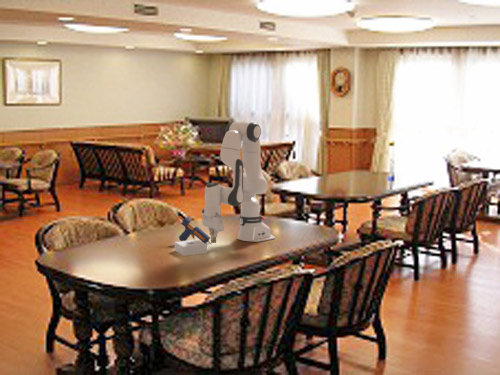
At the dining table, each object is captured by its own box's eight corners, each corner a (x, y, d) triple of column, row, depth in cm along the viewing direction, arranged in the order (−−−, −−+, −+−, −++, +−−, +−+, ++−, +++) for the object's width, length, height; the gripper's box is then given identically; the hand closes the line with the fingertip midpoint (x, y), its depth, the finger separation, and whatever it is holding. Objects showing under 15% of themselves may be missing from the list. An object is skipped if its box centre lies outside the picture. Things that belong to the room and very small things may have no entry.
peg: (214, 241, 374) (214, 224, 372) (217, 242, 371) (216, 225, 370) (209, 242, 373) (209, 224, 371) (212, 243, 370) (212, 225, 368)
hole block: (197, 248, 374) (197, 239, 373) (206, 253, 364) (206, 244, 363) (174, 250, 367) (174, 242, 367) (183, 255, 357) (183, 246, 356)
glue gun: (200, 258, 386) (212, 242, 382) (167, 230, 387) (178, 215, 384) (203, 255, 390) (215, 240, 387) (170, 228, 392) (181, 213, 388)
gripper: (226, 214, 362) (227, 239, 364) (210, 207, 379) (210, 231, 382) (216, 215, 358) (216, 240, 361) (200, 209, 376) (200, 232, 378)
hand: (213, 235), depth 371 cm, fingers closed on peg, 3 cm apart
